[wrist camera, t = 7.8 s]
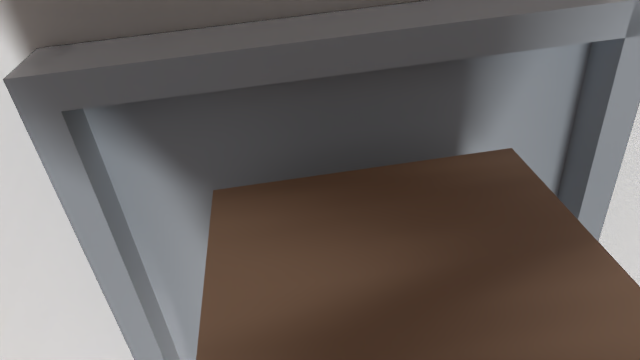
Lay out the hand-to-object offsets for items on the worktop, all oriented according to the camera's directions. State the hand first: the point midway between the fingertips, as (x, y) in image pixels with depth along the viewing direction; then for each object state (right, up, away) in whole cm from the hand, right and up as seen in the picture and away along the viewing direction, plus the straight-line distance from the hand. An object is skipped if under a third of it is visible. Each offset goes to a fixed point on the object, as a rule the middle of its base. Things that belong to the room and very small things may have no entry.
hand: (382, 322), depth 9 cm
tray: (0, +1, +3) cm, 3 cm away
